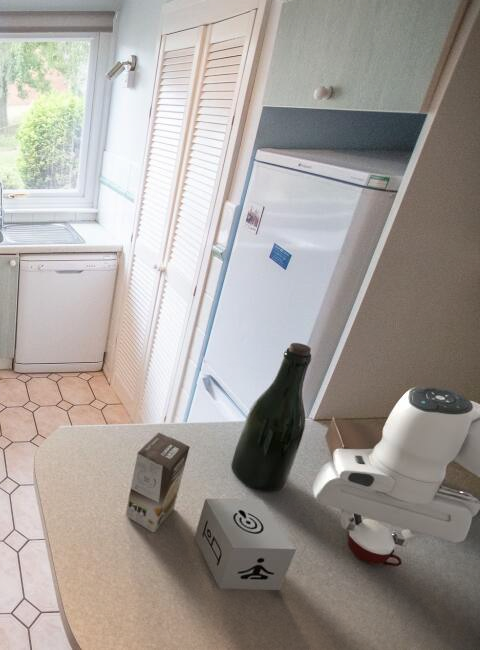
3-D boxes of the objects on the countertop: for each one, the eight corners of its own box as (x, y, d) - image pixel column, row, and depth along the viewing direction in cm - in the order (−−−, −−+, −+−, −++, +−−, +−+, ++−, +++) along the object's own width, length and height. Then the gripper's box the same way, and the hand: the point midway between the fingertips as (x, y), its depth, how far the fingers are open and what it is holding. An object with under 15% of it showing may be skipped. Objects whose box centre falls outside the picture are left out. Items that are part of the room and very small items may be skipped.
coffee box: (155, 534, 87) (170, 470, 80) (124, 515, 91) (136, 453, 84) (175, 507, 93) (190, 446, 86) (145, 490, 97) (158, 430, 90)
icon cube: (194, 537, 86) (205, 498, 82) (247, 539, 86) (261, 500, 82) (219, 588, 77) (233, 547, 73) (279, 590, 77) (296, 549, 73)
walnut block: (386, 451, 108) (396, 431, 105) (402, 486, 98) (414, 464, 95) (324, 436, 113) (332, 416, 110) (334, 467, 103) (343, 447, 100)
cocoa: (402, 574, 79) (430, 525, 74) (369, 578, 79) (395, 528, 74) (354, 528, 88) (377, 482, 83) (324, 531, 87) (345, 484, 82)
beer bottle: (295, 484, 98) (346, 351, 85) (265, 501, 94) (314, 364, 81) (249, 454, 107) (289, 329, 93) (219, 468, 103) (257, 340, 89)
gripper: (476, 484, 74) (440, 543, 80) (324, 446, 83) (301, 502, 88) (495, 512, 69) (456, 573, 74) (331, 468, 77) (306, 526, 83)
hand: (371, 534), depth 81 cm, fingers closed on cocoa, 6 cm apart
